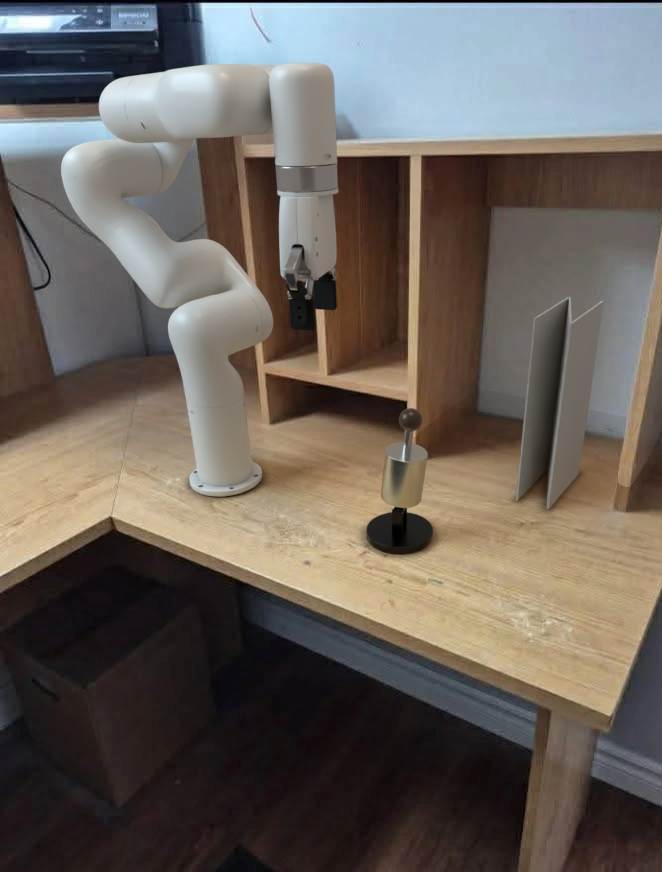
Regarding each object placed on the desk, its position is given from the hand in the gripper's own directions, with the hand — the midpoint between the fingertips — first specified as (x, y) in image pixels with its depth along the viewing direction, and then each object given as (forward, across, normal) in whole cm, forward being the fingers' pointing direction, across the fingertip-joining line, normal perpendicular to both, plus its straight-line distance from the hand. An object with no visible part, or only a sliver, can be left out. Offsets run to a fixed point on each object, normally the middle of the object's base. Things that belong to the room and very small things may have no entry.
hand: (315, 318), depth 93 cm
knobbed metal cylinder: (+20, +1, +16) cm, 26 cm away
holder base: (+32, +1, +12) cm, 34 cm away
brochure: (+32, -18, +33) cm, 50 cm away
